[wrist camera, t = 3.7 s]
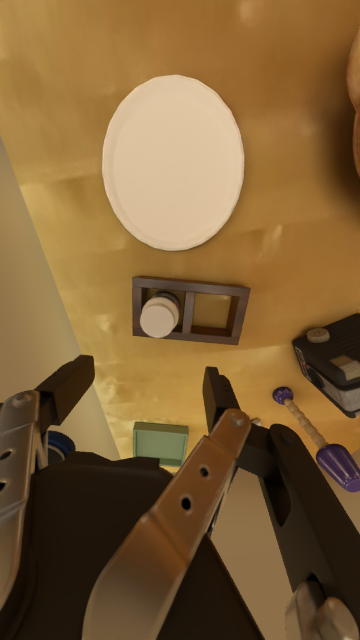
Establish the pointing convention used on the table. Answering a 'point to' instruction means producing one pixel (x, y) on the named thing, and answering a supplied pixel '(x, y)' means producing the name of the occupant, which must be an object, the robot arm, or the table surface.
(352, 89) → the ceramic bowl
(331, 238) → the table surface
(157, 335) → the pill bottle
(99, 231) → the table surface
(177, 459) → the tray
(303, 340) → the camera
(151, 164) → the plate
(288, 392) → the toy lamp
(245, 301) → the rack
